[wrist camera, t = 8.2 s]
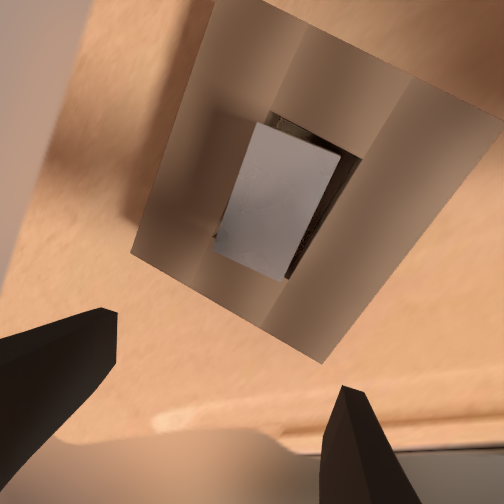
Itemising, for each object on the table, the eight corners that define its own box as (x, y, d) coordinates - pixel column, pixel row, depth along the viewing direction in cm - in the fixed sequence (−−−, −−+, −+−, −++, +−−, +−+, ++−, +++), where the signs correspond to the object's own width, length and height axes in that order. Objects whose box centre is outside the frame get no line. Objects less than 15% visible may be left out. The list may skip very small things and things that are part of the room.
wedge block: (338, 153, 15) (340, 156, 10) (297, 239, 17) (280, 282, 12) (283, 131, 16) (257, 121, 10) (249, 218, 18) (211, 250, 12)
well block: (475, 128, 14) (508, 123, 11) (323, 334, 19) (321, 364, 16) (242, 10, 14) (222, -20, 12) (157, 239, 19) (130, 253, 17)
